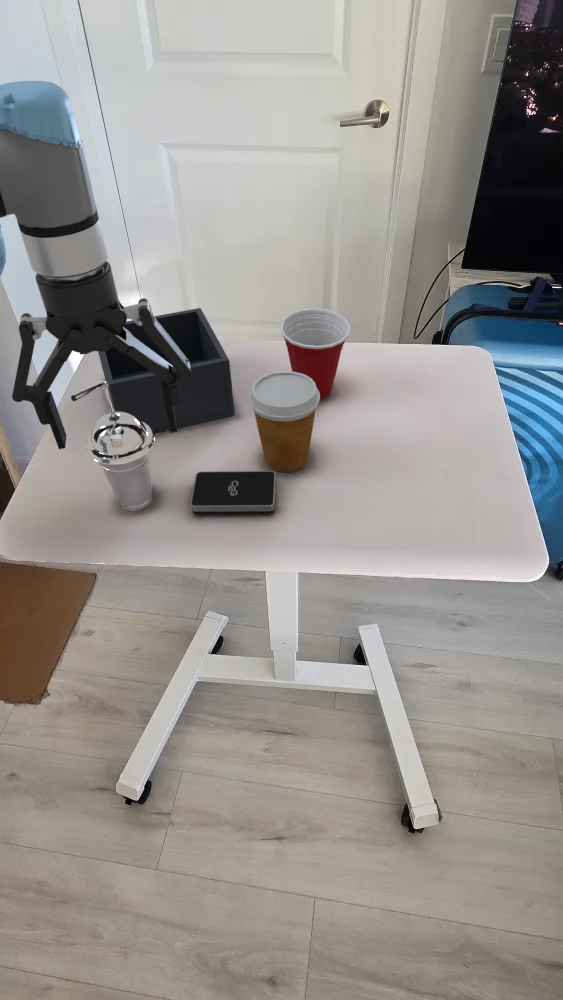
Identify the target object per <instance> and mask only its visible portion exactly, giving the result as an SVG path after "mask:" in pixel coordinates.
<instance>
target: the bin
mask: <svg viewBox="0 0 563 1000" xmlns="http://www.w3.org/2000/svg"><path fill="white" fill-rule="evenodd" d="M154 317H155V318H156V320H157V321H158V322H159V323H160V325H161V326H162V327H163V328H164V330H165V331H166V332H167V333H168V335H169V336H170V337H171V339H172V340H173V341H174V342H175V344H176V345H177V346H178V347H179V349H180V350H181V351H182V352H183V354H184V355H185V356H186V357H187V359H188V360H189V362H190V366H191V372H192V375H191V377H190V378H182V379H181V380H180V381H179V382H178V385H179V391H180V397H181V404H180V405H176V406H173V409H174V414H175V419H176V427H177V429H181V428H185V427H189V426H193V425H197V424H202V423H207V422H211V421H215V420H220V419H223V418H229V417H233V416H235V415H236V412H235V404H234V403H235V402H234V392H233V384H232V374H231V364H230V359H229V357H228V355H227V353H226V351H225V350H224V348H223V346H222V344H221V342H220V341H219V338H218V337H217V335H216V334H215V333H216V332H214V329H213V328H212V325H211V324H210V322H209V321H208V319H207V317H206V315H205V313H204V311H203V310H202V308H201V307H197V308H192V309H187V310H182V311H176V312H170V313H165V314H159V315H154ZM124 328H126V329H127V330H128V331H129V332H130V333H131V334H132V336H134V337H135V338H136V339H138V340H139V341H140V342H142V343H143V344H144V345H146V346H147V347H148V348H150V349H151V350H152V351H154V352H155V353H156V354H158V355H159V356H160V357H162V358H163V359H164V360H166V361H167V362H168V363H170V364H171V365H172V363H171V362H170V361H169V360H168V359H167V357H166V356H165V355H164V354H163V353H162V351H161V350H160V349H159V348H158V346H157V345H156V344H155V343H154V342H153V340H152V339H151V338H150V337H149V335H148V334H147V333H146V331H145V329H144V327H143V325H142V326H138V325H137V324H136V323H135V322H134V321H133V320H131V319H130V320H127V321H126V323H125V325H124ZM97 353H98V357H99V361H100V366H101V369H102V372H103V376H104V381H106V382H107V383H108V385H109V389H110V392H111V396H112V400H113V404H114V408H115V411H125V412H129V413H131V414H133V415H135V416H136V417H138V418H139V419H140V420H141V421H142V422H144V423H146V424H147V425H148V426H149V427H150V428H151V429H152V432H153V433H154V434H158V433H162V432H166V431H171V430H170V425H169V421H168V416H167V411H166V406H165V401H164V396H163V391H162V385H161V378H159V377H158V376H156V375H155V374H154V373H152V372H151V371H149V370H148V369H147V368H145V367H144V366H143V365H141V364H140V363H138V362H137V361H136V360H134V359H133V358H131V357H130V356H129V355H127V354H123V353H121V352H120V351H119V350H117V349H116V348H114V347H111V348H110V349H109V351H104V352H99V351H97ZM172 366H173V365H172Z"/></svg>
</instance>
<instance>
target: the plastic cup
mask: <svg viewBox="0 0 563 1000" xmlns="http://www.w3.org/2000/svg"><path fill="white" fill-rule="evenodd" d="M351 327H352V325H351V324H350V322H349V321H348V319H347V318H346V317H345V316H343V315H342V314H340V313H339V312H336V311H333V310H330V309H326V308H315V307H311V308H303V309H298V310H296V311H293V312H290V313H288V314H287V315H286V316H285V317H284V318H283V319H281V322H280V325H279V331H280V333H281V335H282V337H283V340H284V342H285V345H286V350H287V354H288V358H289V363H290V368H291V371H293V372H297V373H302V374H304V375H307V376H308V377H310V378H311V379H312V380H313V381H314V382H315V384H316V388H317V389H318V391H319V393H320V400H323V399H325V398H328V397H329V396H330V395H331V394H332V390H333V388H334V382H335V378H336V375H337V371H338V366H339V362H340V358H341V354H342V350H343V347H344V344H345V342H346V340H347V339H348V338H349V336H350V332H351Z"/></svg>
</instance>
